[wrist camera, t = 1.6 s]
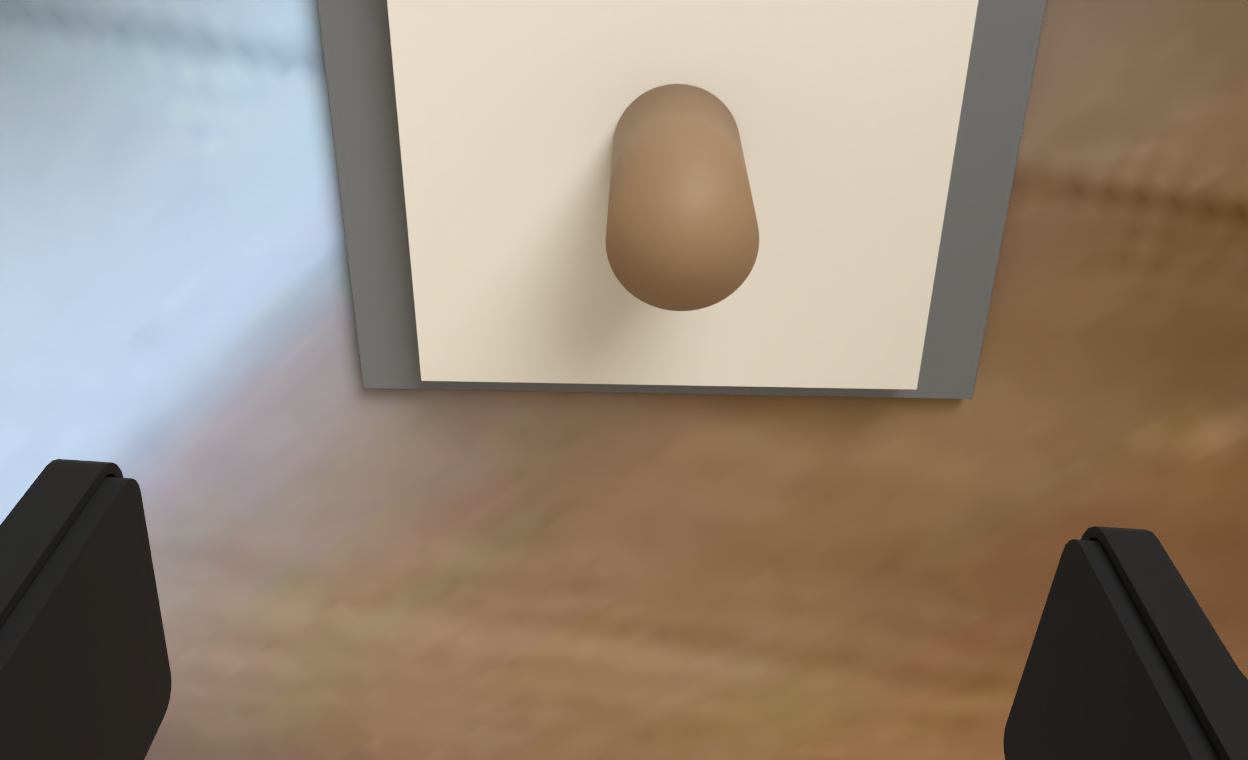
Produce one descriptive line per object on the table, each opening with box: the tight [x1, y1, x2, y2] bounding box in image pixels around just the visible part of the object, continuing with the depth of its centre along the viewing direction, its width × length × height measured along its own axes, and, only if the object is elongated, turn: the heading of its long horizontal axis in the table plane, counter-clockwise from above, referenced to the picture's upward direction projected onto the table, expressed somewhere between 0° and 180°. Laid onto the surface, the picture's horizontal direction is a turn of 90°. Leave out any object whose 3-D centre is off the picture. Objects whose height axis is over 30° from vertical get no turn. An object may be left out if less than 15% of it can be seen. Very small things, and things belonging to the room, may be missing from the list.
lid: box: [387, 0, 978, 390], centre depth 27 cm, size 14×14×7 cm
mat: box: [317, 0, 1047, 399], centre depth 31 cm, size 18×16×1 cm
